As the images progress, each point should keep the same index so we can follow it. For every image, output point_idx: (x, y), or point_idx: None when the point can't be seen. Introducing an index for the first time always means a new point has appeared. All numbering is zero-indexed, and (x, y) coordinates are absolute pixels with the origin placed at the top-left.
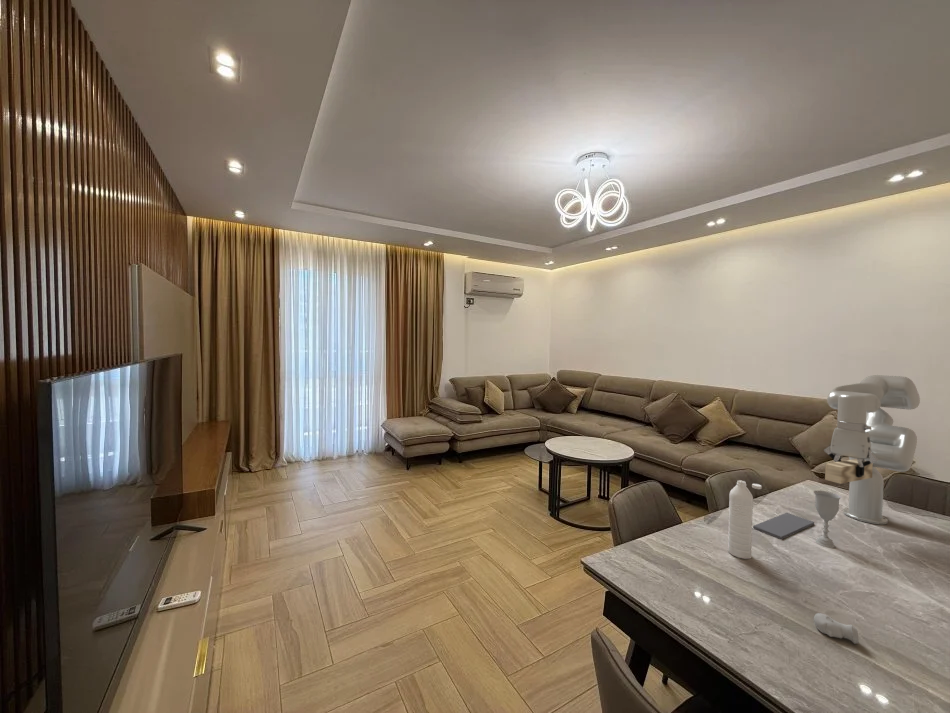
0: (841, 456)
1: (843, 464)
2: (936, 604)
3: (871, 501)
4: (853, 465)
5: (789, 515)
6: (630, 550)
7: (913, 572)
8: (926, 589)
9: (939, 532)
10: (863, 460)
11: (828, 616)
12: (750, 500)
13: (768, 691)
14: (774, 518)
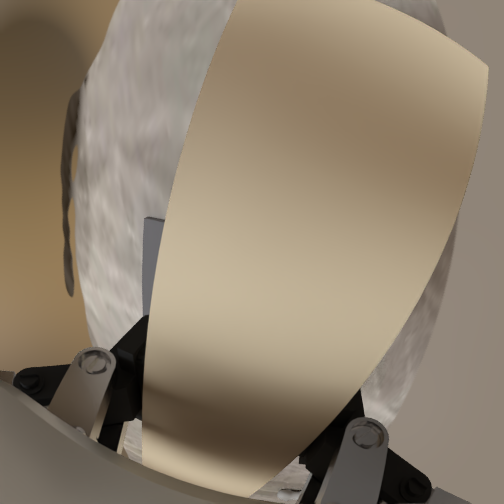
0: (98, 426)
1: (205, 484)
2: (389, 419)
3: None
4: (268, 480)
5: (155, 237)
6: (137, 462)
7: (394, 350)
8: (393, 393)
9: (438, 19)
10: (360, 498)
11: (285, 498)
12: None
13: None
14: (145, 294)
